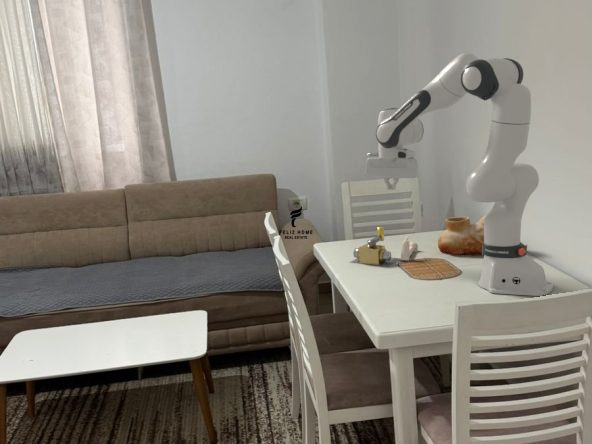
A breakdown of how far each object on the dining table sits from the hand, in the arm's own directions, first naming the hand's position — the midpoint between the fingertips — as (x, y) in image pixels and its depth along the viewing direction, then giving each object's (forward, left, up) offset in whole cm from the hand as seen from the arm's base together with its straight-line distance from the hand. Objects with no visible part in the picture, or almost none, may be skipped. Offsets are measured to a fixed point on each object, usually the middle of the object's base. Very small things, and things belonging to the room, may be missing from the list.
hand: (391, 189), depth 232 cm
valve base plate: (+5, +6, -27) cm, 28 cm away
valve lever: (+5, +4, -21) cm, 22 cm away
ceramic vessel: (-24, -21, -27) cm, 42 cm away
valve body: (+5, +8, -27) cm, 28 cm away
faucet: (-4, -6, -28) cm, 29 cm away
